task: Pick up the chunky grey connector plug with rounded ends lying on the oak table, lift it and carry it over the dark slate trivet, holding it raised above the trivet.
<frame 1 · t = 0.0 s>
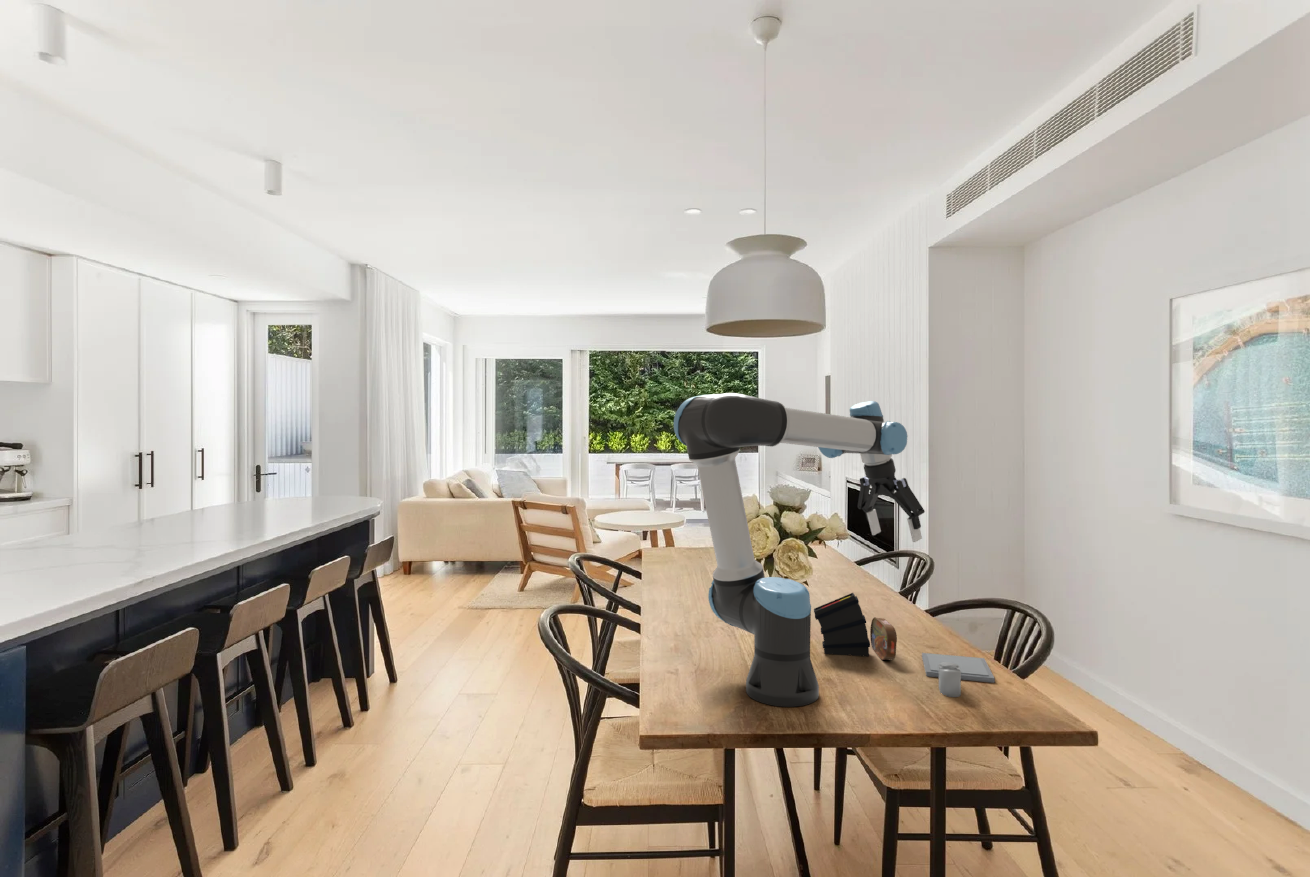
hand: (896, 536, 179), 28 cm above the table, tool tilted 20°, fingers open, 13 cm apart
magazine: (841, 654, 171), on the table
trivet: (956, 669, 159), on the table
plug: (949, 690, 146), on the table
tin: (883, 655, 170), on the table
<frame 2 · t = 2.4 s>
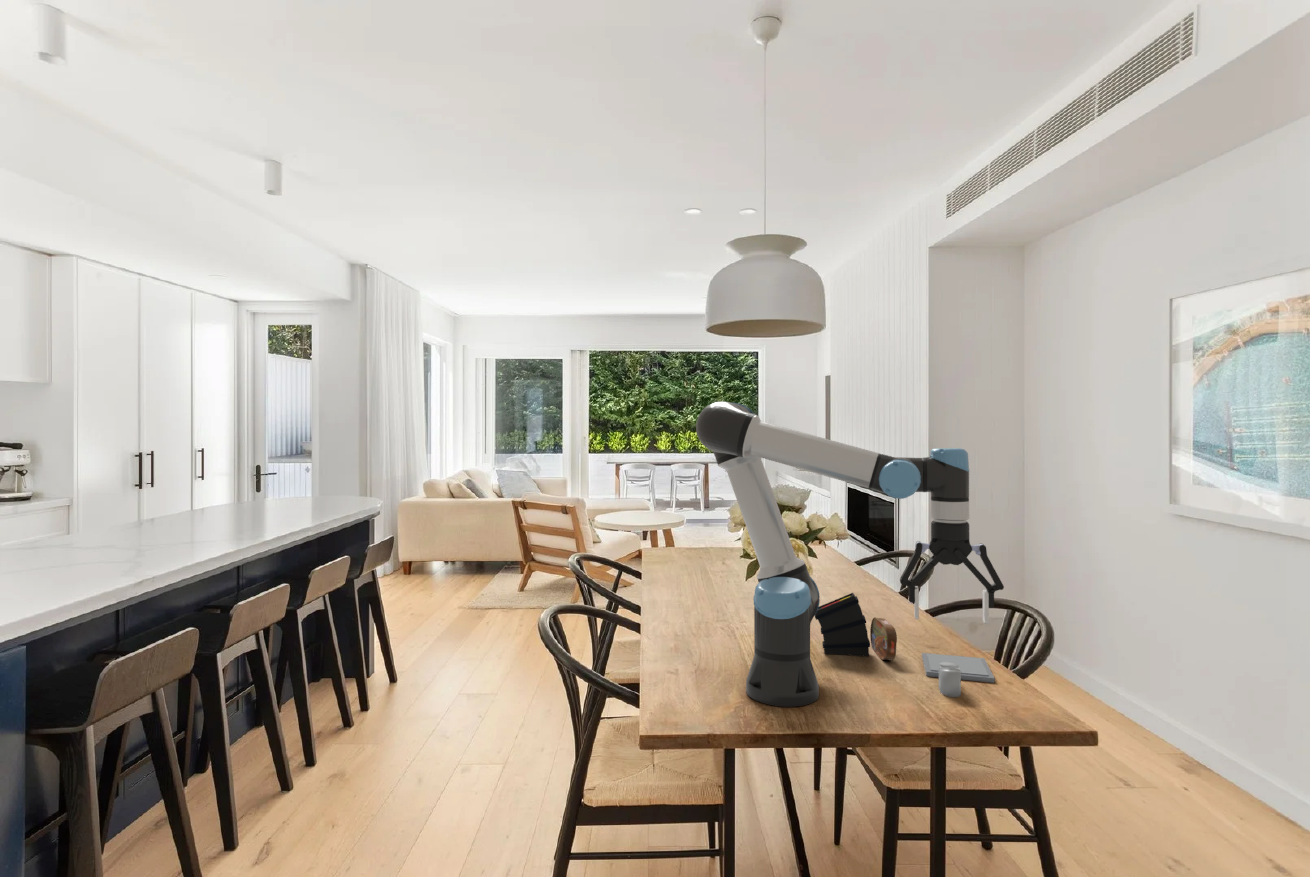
hand: (950, 620, 146), 15 cm above the table, tool pointing down, fingers open, 13 cm apart
nothing on the table moved.
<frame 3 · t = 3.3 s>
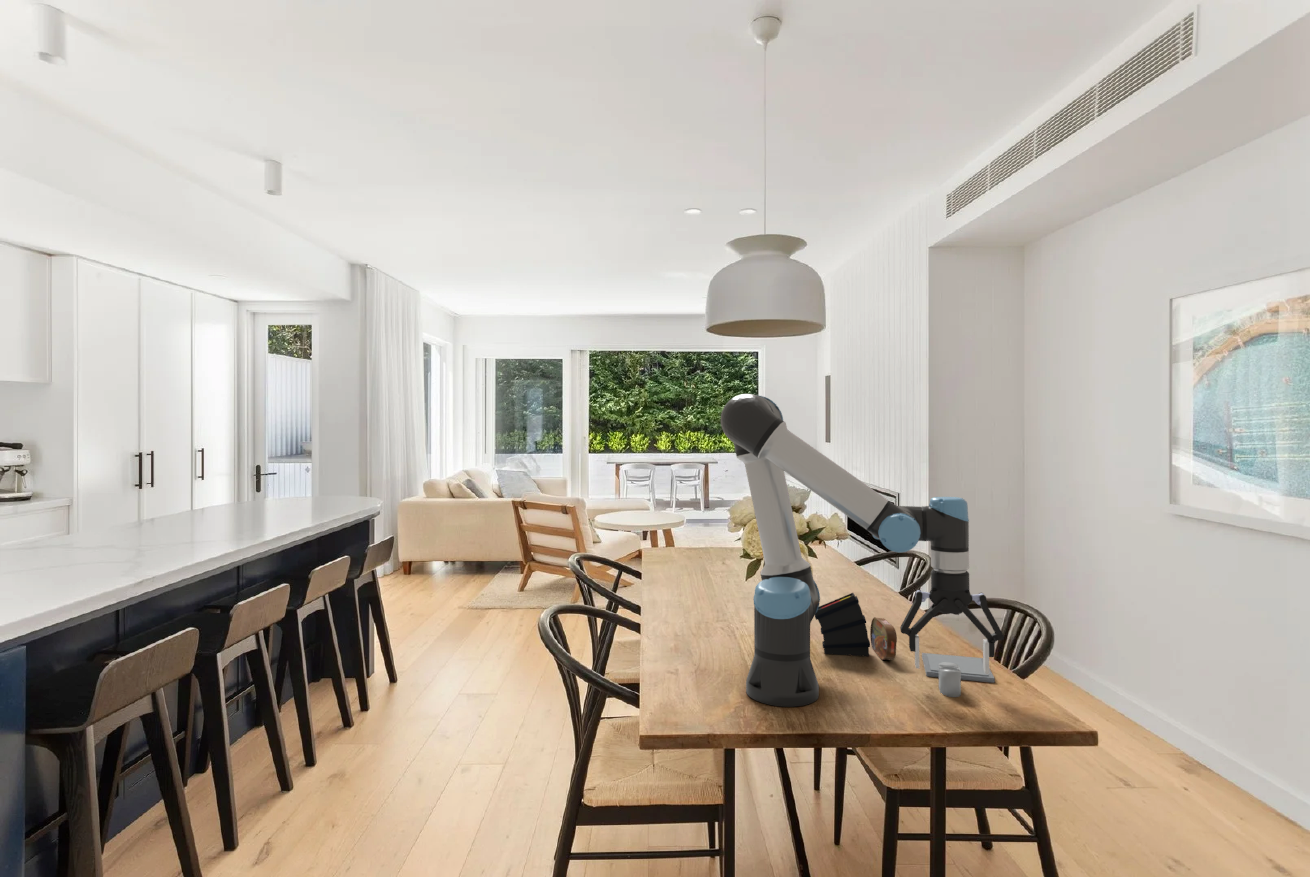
hand: (951, 669, 146), 5 cm above the table, tool pointing down, fingers open, 13 cm apart
nothing on the table moved.
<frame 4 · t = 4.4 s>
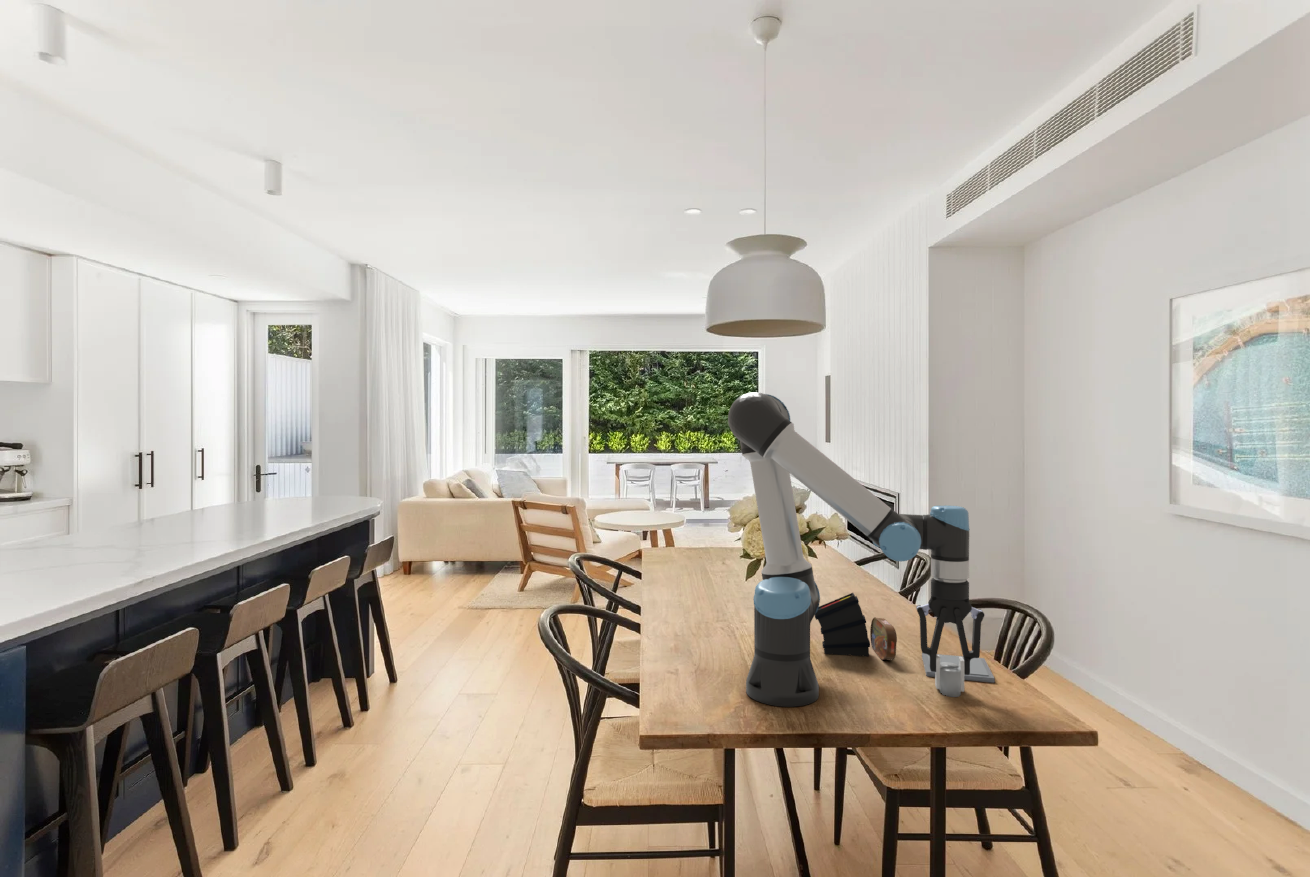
hand: (949, 687, 146), 1 cm above the table, tool pointing down, fingers closed on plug, 4 cm apart
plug: (949, 690, 146), on the table, touching gripper
everything else where it was.
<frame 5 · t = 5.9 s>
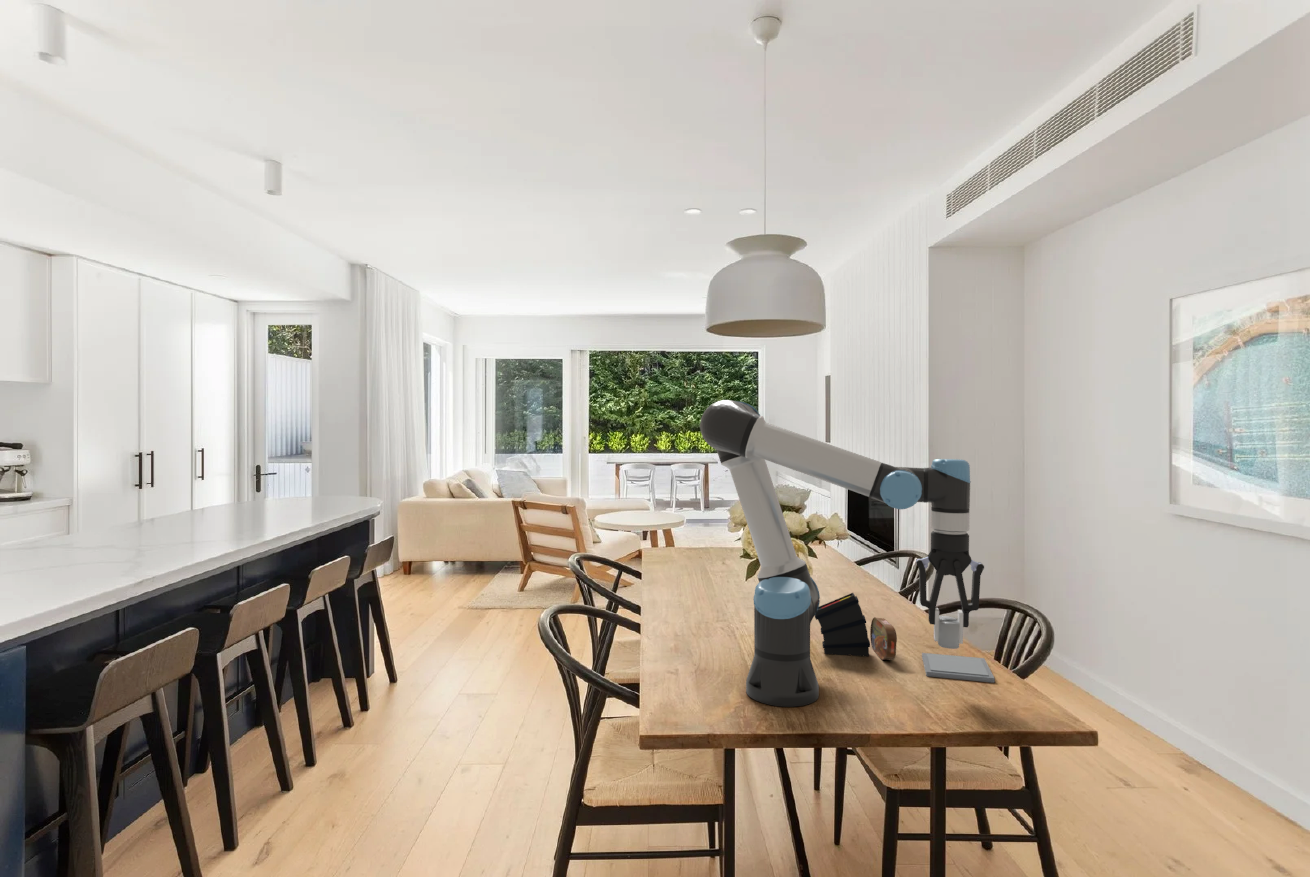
hand: (948, 640, 146), 11 cm above the table, tool pointing down, fingers closed on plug, 4 cm apart
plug: (948, 643, 146), point 10 cm above the table, touching gripper
everything else where it was.
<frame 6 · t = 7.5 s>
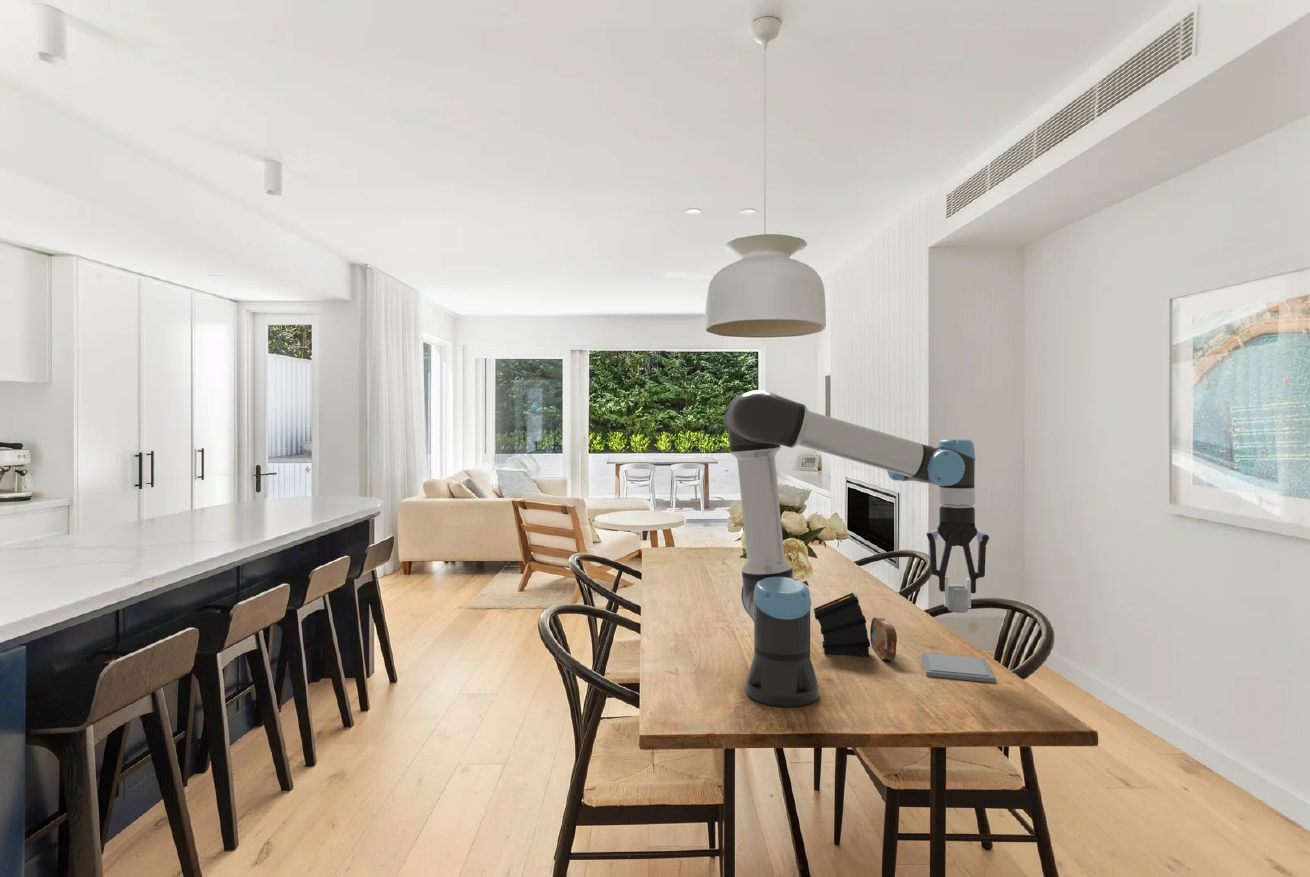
hand: (957, 605, 159), 15 cm above the table, tool pointing down, fingers closed on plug, 4 cm apart
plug: (957, 608, 159), point 14 cm above the table, touching gripper
everything else where it was.
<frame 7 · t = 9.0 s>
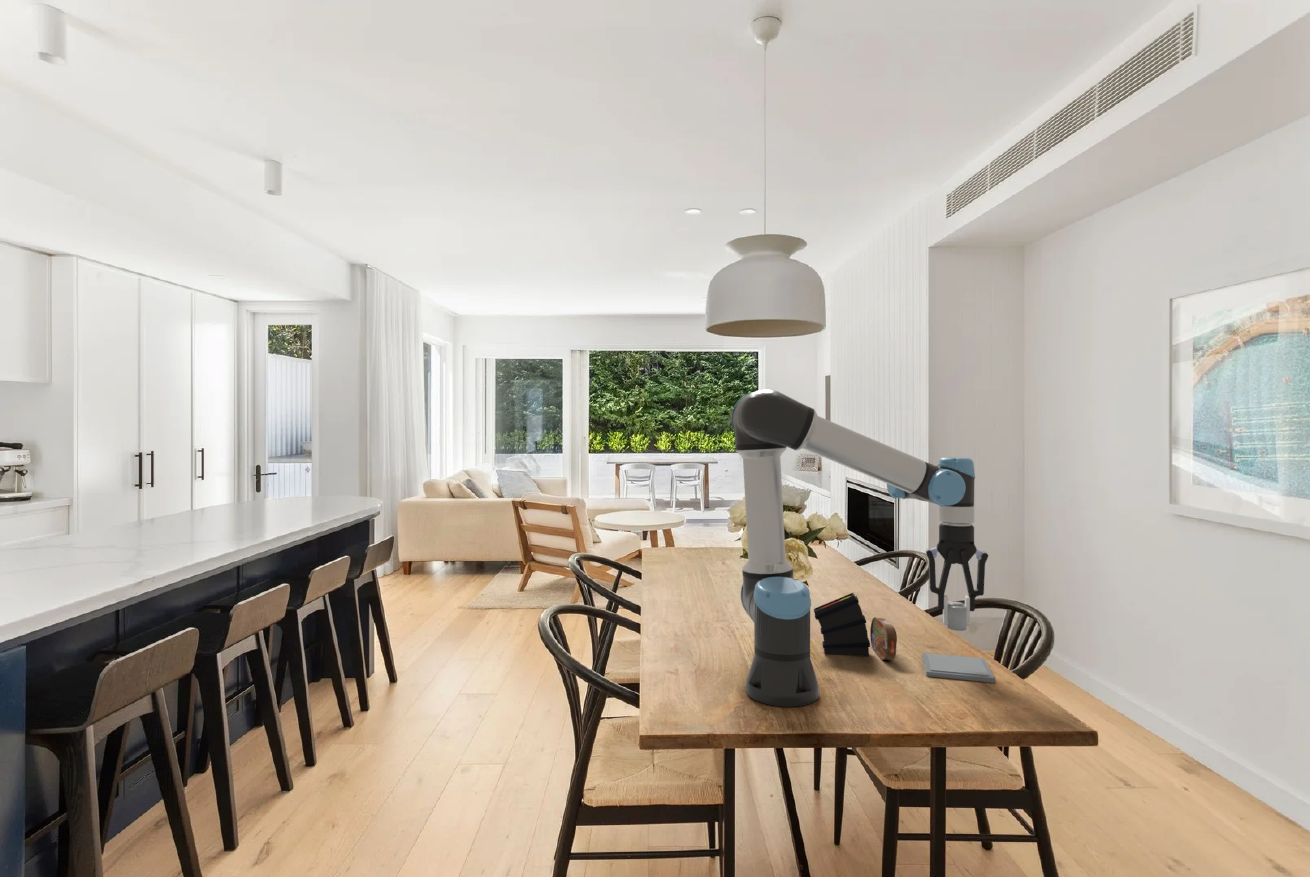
hand: (956, 623, 159), 11 cm above the table, tool pointing down, fingers closed on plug, 4 cm apart
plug: (956, 626, 159), point 10 cm above the table, touching gripper
everything else where it was.
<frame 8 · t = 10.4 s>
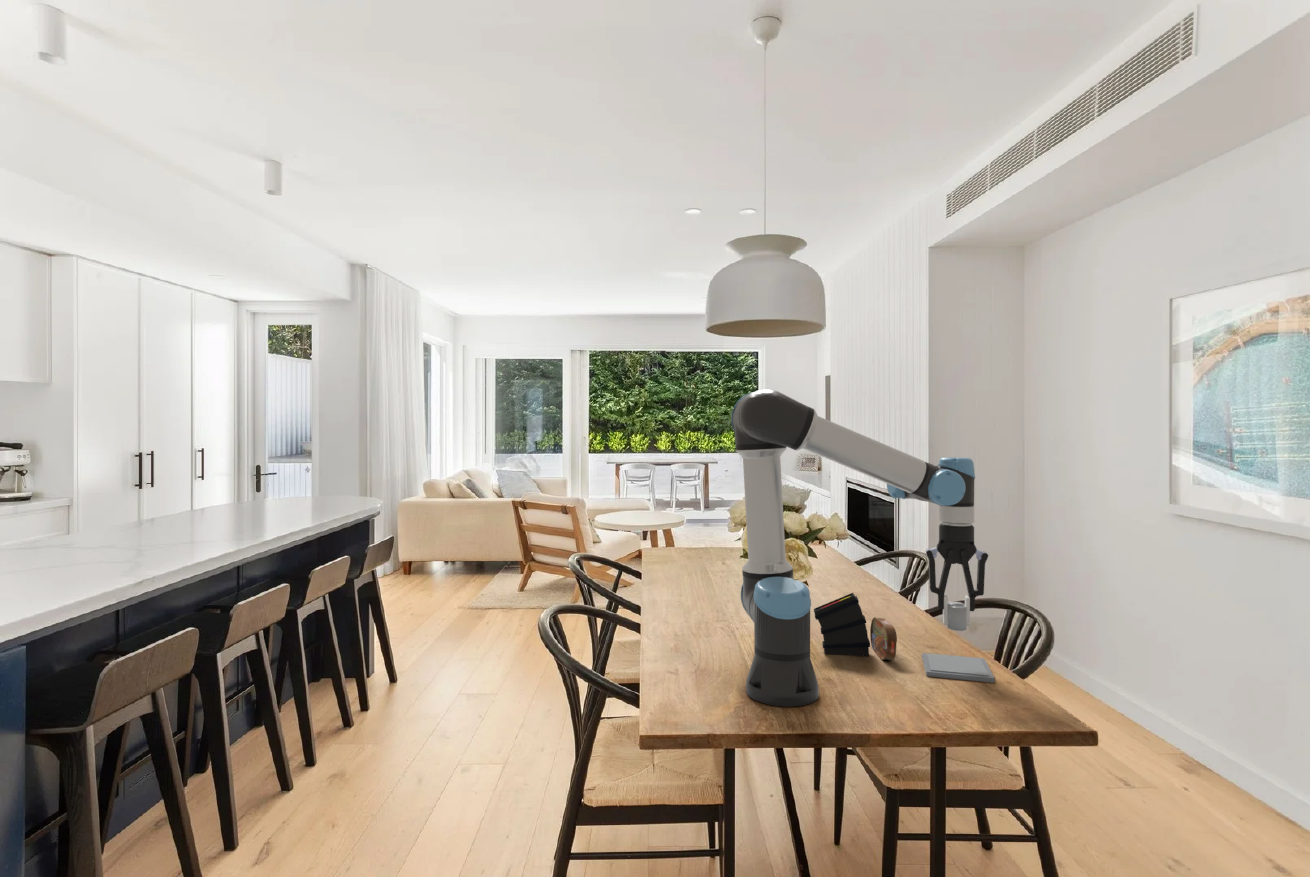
hand: (956, 623, 159), 11 cm above the table, tool pointing down, fingers closed on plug, 4 cm apart
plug: (956, 626, 159), point 10 cm above the table, touching gripper
everything else where it was.
at the end: the gripper is holding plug; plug point 9.9 cm above the table; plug 0.0 cm from the trivet (horizontally) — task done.
